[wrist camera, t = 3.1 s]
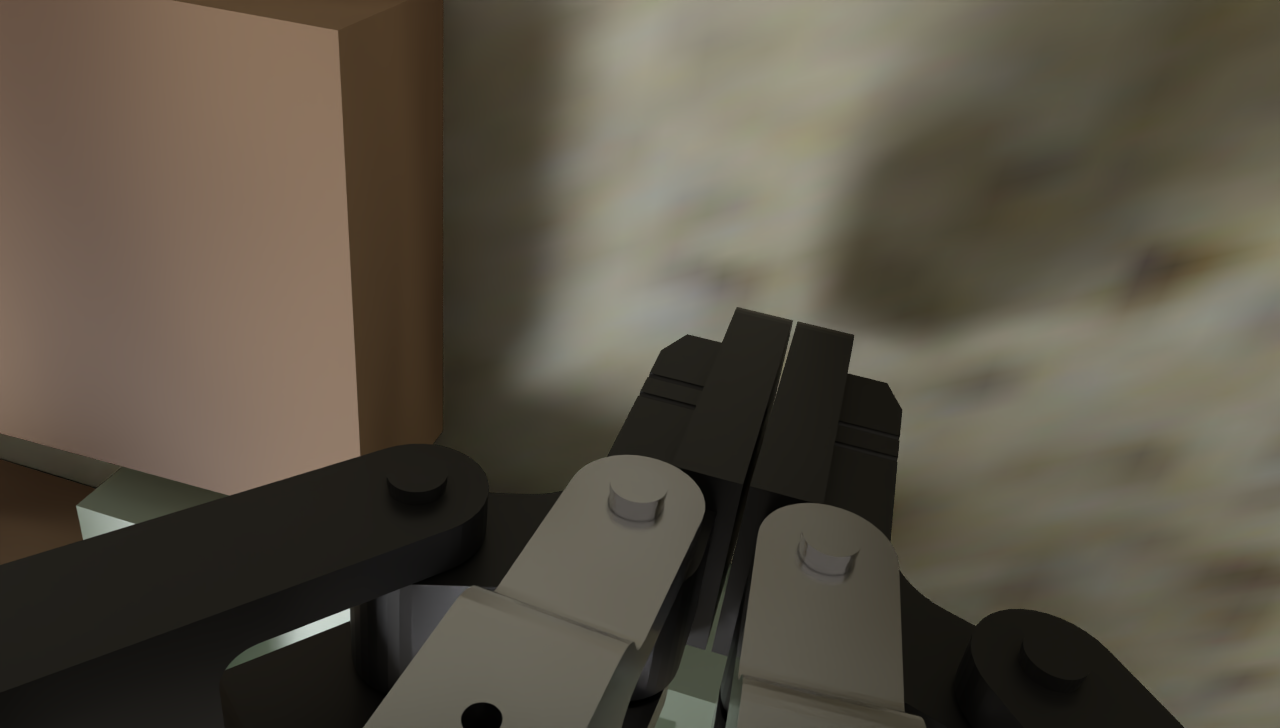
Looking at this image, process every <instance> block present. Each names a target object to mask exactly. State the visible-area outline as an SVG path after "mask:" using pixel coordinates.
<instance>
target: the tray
mask: <svg viewBox="0 0 1280 728" xmlns="http://www.w3.org/2000/svg"><path fill="white" fill-rule="evenodd" d="M227 496H229V495H225V494H222V493H218V492H214V491H211V490H207V489H203V488H200V487H196V486H192V485H189V484H185V483H181V482H178V481H174V480H170V479H167V478H163V477H159V476H156V475H152V474H148V473H145V472H141V471H137V470H134V469H130V468H126V467H122V468H120V469H119V470H118V471H117V472H116V473H114V474H113V475H112V476H111V477H110V478H108V479H107V480H106V481H105V482H104V483H102V484H101V485H100V486H99V487H98V488H97V489H95V490H94V491H93V492H92V493H91V494H89V495H88V496H87V497H86V498H85V499H83V500H82V501H81V502H80V503H79V504H77V505H76V508H77V513H78V518H79V522H80V527H81V532H82V537H83V540H84V539H88V538H91V537H94V536H98V535H101V534H104V533H108V532H111V531H114V530H118V529H121V528H124V527H127V526H131V525H134V524H137V523H141V522H144V521H147V520H151V519H154V518H157V517H161V516H164V515H167V514H170V513H174V512H177V511H180V510H184V509H187V508H190V507H194V506H197V505H200V504H204V503H207V502H210V501H213V500H217V499H220V498H223V497H227ZM730 569H731V564H730V566H729V569H728V573H727V576H726V580H725V583H724V587H723V590H722V594H721V597H720V601H719V604H718V608H717V611H716V615H715V618H714V622H713V625H712V629H711V632H710V636H709V639H708V642H707V646H706V649H705V650H703V649H699V648H696V647H693V646H689V645H686V646H685V649H684V653H683V656H682V659H681V662H680V666H679V669H678V671H677V673H676V676H675V677H674V679H673V680H672V681H671V683H670V684H669V687H668V692H667V697H666V700H665V704H664V706H663V709H662V711H661V713H660V716H659V718H658V721H657V723H656V725H655V728H711V724H712V719H713V715H714V710H715V706H716V702H717V698H718V694H719V690H720V686H721V682H722V677H723V673H724V669H725V665H726V661H727V657H728V656H724V655H721V654H718V653H714V652H711V651H712V647H713V642H714V638H715V634H716V629H717V625H718V621H719V617H720V612H721V608H722V604H723V599H724V595H725V591H726V586H727V582H728V578H729V574H730ZM348 621H350V608H349V609H347V610H344V611H342V612H339V613H337V614H334V615H331V616H329V617H326V618H324V619H321V620H318V621H316V622H313V623H311V624H308V625H306V626H303V627H300V628H298V629H295V630H293V631H290V632H287V633H285V634H282V635H280V636H277V637H275V638H272V639H269V640H267V641H264V642H262V643H259V644H257V645H255V646H252V647H251V648H249V649H247V650H245V651H244V652H242V653H241V654H240V655H238V656H237V657H236V658H235V659H234V660H233V661H232V662H231V663H230V664H229V665H228V667H227V668H226V669H225V670H227V669H229V668H232V667H234V666H237V665H239V664H242V663H244V662H247V661H249V660H252V659H255V658H257V657H260V656H262V655H265V654H267V653H270V652H272V651H275V650H277V649H280V648H282V647H285V646H287V645H290V644H293V643H295V642H298V641H300V640H303V639H305V638H308V637H310V636H313V635H315V634H318V633H320V632H323V631H326V630H328V629H331V628H333V627H336V626H338V625H341V624H343V623H346V622H348Z"/></svg>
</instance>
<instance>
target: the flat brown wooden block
mask: <svg viewBox="0 0 1280 728" xmlns="http://www.w3.org/2000/svg"><path fill="white" fill-rule="evenodd" d="M442 432H443V0H0V433H1V434H5V435H9V436H12V437H16V438H20V439H23V440H27V441H31V442H34V443H38V444H42V445H45V446H49V447H53V448H56V449H60V450H64V451H67V452H71V453H75V454H79V455H82V456H86V457H90V458H93V459H97V460H101V461H104V462H108V463H112V464H115V465H119V466H123V467H126V468H130V469H134V470H137V471H141V472H145V473H148V474H152V475H156V476H159V477H163V478H167V479H170V480H174V481H178V482H181V483H185V484H189V485H192V486H196V487H200V488H203V489H207V490H211V491H214V492H218V493H222V494H225V495H229V496H230V495H233V494H237V493H240V492H243V491H247V490H250V489H253V488H256V487H260V486H263V485H266V484H270V483H273V482H276V481H280V480H283V479H286V478H290V477H293V476H296V475H299V474H303V473H306V472H309V471H313V470H316V469H319V468H323V467H326V466H329V465H333V464H336V463H339V462H342V461H346V460H349V459H352V458H356V457H359V456H362V455H366V454H369V453H372V452H376V451H379V450H382V449H385V448H389V447H394V446H398V445H406V444H431V445H432V444H433V443H434V442H435V441H436V439H437V438H438V437H439V435H440V434H441V433H442Z"/></svg>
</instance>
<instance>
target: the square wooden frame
mask: <svg viewBox="0 0 1280 728" xmlns="http://www.w3.org/2000/svg"><path fill="white" fill-rule="evenodd" d="M95 489H96V488H92V487H89V486H86V485H83V484H79V483H76V482H73V481H69V480H66V479H63V478H60V477H56V476H53V475H50V474H47V473H43V472H40V471H37V470H34V469H30V468H27V467H24V466H20V465H17V464H14V463H11V462H7V461H4V460H1V459H0V565H2V564H5V563H8V562H12V561H15V560H18V559H22V558H25V557H28V556H32V555H35V554H38V553H41V552H45V551H48V550H51V549H55V548H58V547H61V546H65V545H68V544H71V543H75V542H78V541H81V540H83V537H82V532H81V527H80V522H79V518H78V513H77V508H76V505H77V504H79V503H80V502H81V501H82V500H83V499H85V498H86V497H87V496H88V495H89V494H91V493H92V492H93V491H94V490H95Z"/></svg>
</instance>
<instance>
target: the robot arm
mask: <svg viewBox="0 0 1280 728" xmlns="http://www.w3.org/2000/svg"><path fill="white" fill-rule="evenodd" d="M792 322H793V320H789V319H785V318H781V317H776V316H772V315H768V314H764V313H760V312H755V311H751V310H747V309H743V308H739V307H737V308H736V310H735V312H734V315H733V317H732V320H731V322H730V325H729V327H728V329H727V332H726V334H725V337H724V339H723V342H722V343H720V342H716V341H712V340H708V339H704V338H700V337H696V336H692V335H688V334H687V335H685V336H684V337H682V338H681V339H679V340H677V341H676V342H674V343H672V344H671V345H669V346H667V347H666V348H664V349H663V350H661V352H660V354H659V356H658V358H657V360H656V362H655V364H654V366H653V368H652V370H651V372H650V375H649V377H647V379H646V381H645V383H644V385H643V387H642V389H641V391H640V395H639V396H638V397H637V399H636V401H635V403H634V405H633V407H632V409H631V411H630V413H629V415H628V417H627V419H626V421H625V423H624V425H623V427H622V429H621V431H620V433H619V435H618V437H617V439H616V440H615V442H614V444H613V446H612V448H611V450H610V452H609V454H608V456H607V457H604V458H601V459H598V460H595V461H593V462H591V463H589V464H587V465H585V466H584V467H583V468H581V469H580V470H579V471H578V472H577V473H576V474H575V475H574V476H573V478H572V479H571V481H570V482H569V484H568V485H567V487H566V488H565V489H564V491H559V492H555V493H548V494H504V493H489V485H488V480H487V477H486V475H485V473H484V471H483V470H482V468H481V467H480V466H479V465H478V464H477V463H476V462H475V461H474V460H472V459H471V458H469V457H468V456H466V455H465V454H463V453H460V452H458V451H456V450H453V449H450V448H447V447H443V446H438V445H431V444H406V445H398V446H394V447H389V448H385V449H382V450H379V451H376V452H372V453H369V454H366V455H362V456H359V457H356V458H352V459H349V460H346V461H342V462H339V463H336V464H333V465H329V466H326V467H323V468H319V469H316V470H313V471H309V472H306V473H303V474H299V475H296V476H293V477H290V478H286V479H283V480H280V481H276V482H273V483H270V484H266V485H263V486H260V487H256V488H253V489H250V490H247V491H243V492H240V493H237V494H233V495H230V496H227V497H223V498H220V499H217V500H213V501H210V502H207V503H204V504H200V505H197V506H194V507H190V508H187V509H184V510H180V511H177V512H174V513H170V514H167V515H164V516H161V517H157V518H154V519H151V520H147V521H144V522H141V523H137V524H134V525H131V526H127V527H124V528H121V529H118V530H114V531H111V532H108V533H104V534H101V535H98V536H94V537H91V538H88V539H84V540H81V541H78V542H75V543H71V544H68V545H65V546H61V547H58V548H55V549H51V550H48V551H45V552H41V553H38V554H35V555H32V556H28V557H25V558H22V559H18V560H15V561H12V562H8V563H5V564H2V565H0V728H655V725H656V723H657V721H658V718H659V716H660V713H661V711H662V709H663V706H664V704H665V700H666V697H667V692H668V687H669V684H670V683H671V681H672V680H673V679H674V677H675V676H676V673H677V671H678V669H679V666H680V662H681V659H682V656H683V653H684V649H685V646H686V645H689V646H693V647H696V648H699V649H703V650H705V649H706V646H707V642H708V639H709V636H710V632H711V629H712V625H713V622H714V618H715V615H716V611H717V608H718V604H719V601H720V597H721V594H722V590H723V587H724V583H725V580H726V576H727V573H728V569H729V566H730V562H731V559H732V555H733V552H734V548H735V545H736V548H735V552H734V556H733V561H732V565H731V569H730V574H729V578H728V582H727V586H726V591H725V595H724V599H723V604H722V608H721V612H720V617H719V621H718V625H717V629H716V634H715V638H714V642H713V647H712V651H711V652H714V653H718V654H721V655H724V656H728V657H727V661H726V665H725V669H724V673H723V677H722V682H721V686H720V690H719V694H718V698H717V702H716V706H715V710H714V715H713V719H712V724H711V728H1184V727H1183V726H1182V725H1181V724H1180V723H1179V722H1178V721H1177V720H1176V719H1175V718H1174V717H1173V716H1172V715H1171V714H1170V713H1169V711H1168V710H1167V709H1166V708H1165V707H1164V706H1163V705H1162V704H1161V703H1160V702H1159V701H1158V700H1157V699H1156V698H1155V697H1154V696H1153V695H1152V694H1151V693H1150V692H1149V691H1148V690H1147V689H1146V688H1145V687H1144V686H1143V685H1142V684H1141V683H1140V682H1139V681H1138V680H1137V679H1136V678H1135V677H1134V676H1133V675H1132V674H1131V673H1130V672H1129V671H1128V670H1127V669H1126V668H1125V667H1124V666H1123V665H1122V664H1121V663H1120V662H1119V661H1118V660H1117V658H1116V657H1115V656H1114V655H1113V654H1112V653H1111V652H1110V651H1109V650H1108V649H1107V648H1105V647H1104V646H1103V645H1102V644H1101V643H1100V642H1099V641H1098V640H1096V639H1095V638H1094V637H1092V636H1091V635H1090V634H1088V633H1087V632H1085V631H1084V630H1082V629H1080V628H1079V627H1077V626H1075V625H1074V624H1072V623H1069V622H1067V621H1065V620H1063V619H1061V618H1058V617H1055V616H1053V615H1050V614H1047V613H1042V612H1038V611H1034V610H1025V609H1008V610H1003V611H998V612H995V613H993V614H990V615H988V616H987V617H985V618H984V619H982V620H981V621H980V622H979V624H978V625H977V626H975V625H973V624H971V623H969V622H967V621H965V620H963V619H961V618H959V617H958V616H956V615H954V614H952V613H950V612H948V611H946V610H944V609H943V608H941V607H939V606H938V605H936V604H934V603H933V602H931V601H930V600H929V599H927V598H926V597H924V596H923V595H922V594H921V593H920V592H918V591H917V590H916V589H915V588H914V587H913V586H912V585H911V584H910V583H909V582H908V581H907V579H906V578H905V577H904V576H903V574H902V573H901V571H900V570H899V562H898V556H897V554H896V552H895V549H894V547H893V546H892V544H891V541H890V539H891V528H892V517H893V506H894V495H895V484H896V473H897V458H898V451H899V437H900V428H901V417H902V409H901V407H900V405H899V403H898V402H897V400H896V398H895V396H894V394H893V393H892V391H891V389H890V387H889V386H888V384H887V383H884V382H880V381H876V380H872V379H868V378H864V377H860V376H856V375H852V374H848V367H849V362H850V357H851V351H852V346H853V340H854V335H853V334H848V333H844V332H840V331H836V330H832V329H827V328H823V327H819V326H815V325H811V324H806V323H802V322H797V326H796V329H795V332H794V336H793V339H792V343H791V346H790V350H789V353H788V357H787V360H786V363H785V367H784V370H783V374H782V377H781V381H780V384H779V388H778V383H779V379H780V375H781V371H782V366H783V362H784V358H785V354H786V349H787V345H788V341H789V337H790V332H791V328H792ZM777 388H778V391H777ZM776 392H777V394H776ZM775 396H776V398H775ZM774 400H775V401H774ZM773 404H774V405H773ZM737 538H738V539H737ZM736 541H737V544H736ZM349 608H350V621H348V622H346V623H343V624H341V625H338V626H336V627H333V628H331V629H328V630H326V631H323V632H320V633H318V634H315V635H313V636H310V637H308V638H305V639H303V640H300V641H298V642H295V643H293V644H290V645H287V646H285V647H282V648H280V649H277V650H275V651H272V652H270V653H267V654H265V655H262V656H260V657H257V658H255V659H252V660H249V661H247V662H244V663H242V664H239V665H237V666H234V667H232V668H229V669H227V670H225V669H226V668H227V667H228V665H229V664H230V663H231V662H232V661H233V660H234V659H235V658H236V657H237V656H238V655H240V654H241V653H242V652H244V651H245V650H247V649H249V648H251V647H252V646H255V645H257V644H259V643H262V642H264V641H267V640H269V639H272V638H275V637H277V636H280V635H282V634H285V633H287V632H290V631H293V630H295V629H298V628H300V627H303V626H306V625H308V624H311V623H313V622H316V621H318V620H321V619H324V618H326V617H329V616H331V615H334V614H337V613H339V612H342V611H344V610H347V609H349Z"/></svg>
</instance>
